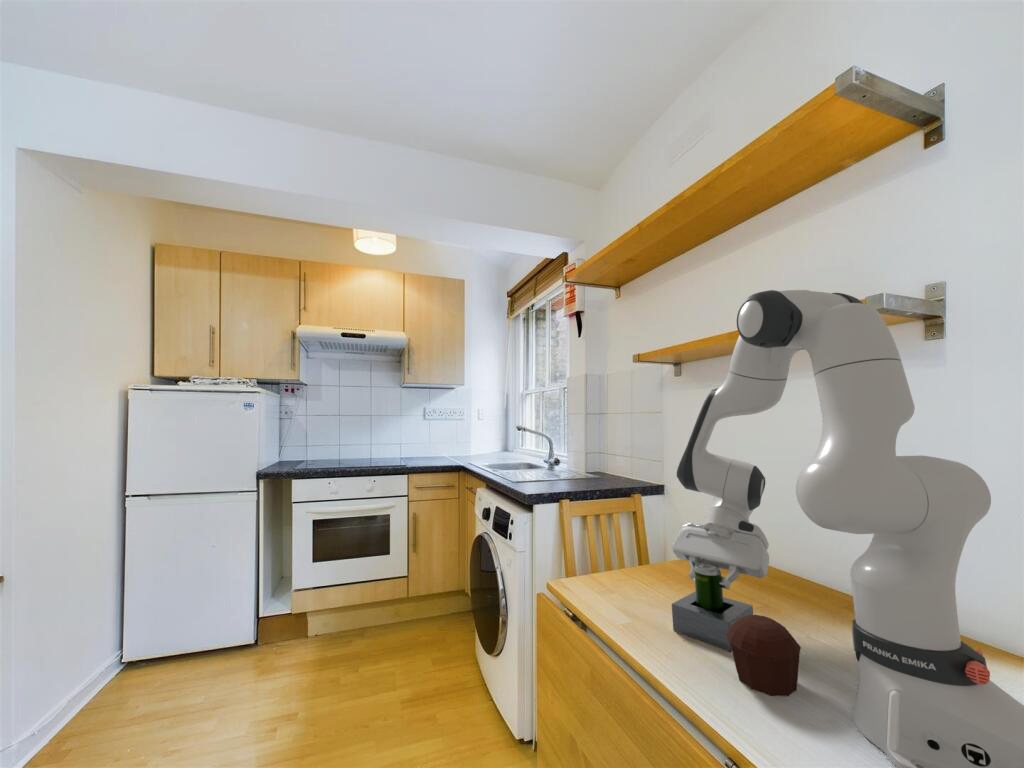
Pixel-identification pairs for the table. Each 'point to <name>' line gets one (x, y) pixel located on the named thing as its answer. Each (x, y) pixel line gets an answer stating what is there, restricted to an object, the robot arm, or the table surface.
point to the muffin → (765, 655)
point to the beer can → (708, 587)
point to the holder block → (707, 620)
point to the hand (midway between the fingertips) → (708, 582)
